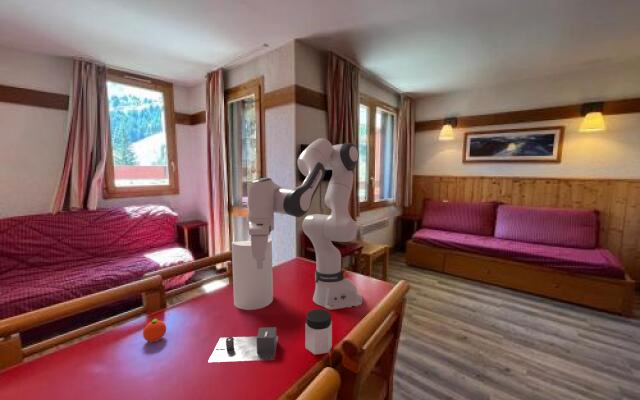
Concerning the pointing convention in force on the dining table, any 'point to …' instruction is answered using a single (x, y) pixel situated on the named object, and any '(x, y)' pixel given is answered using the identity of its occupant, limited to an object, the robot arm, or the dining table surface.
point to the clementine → (154, 330)
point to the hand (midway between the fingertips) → (261, 263)
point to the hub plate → (238, 350)
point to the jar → (318, 331)
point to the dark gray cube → (266, 340)
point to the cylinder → (251, 277)
